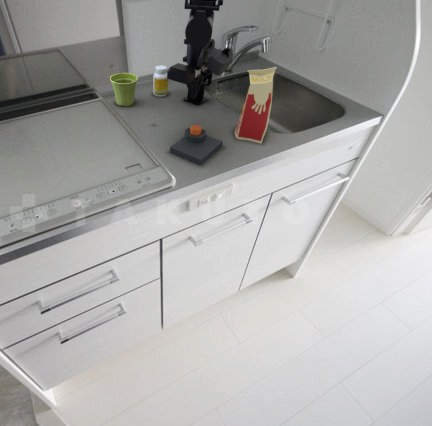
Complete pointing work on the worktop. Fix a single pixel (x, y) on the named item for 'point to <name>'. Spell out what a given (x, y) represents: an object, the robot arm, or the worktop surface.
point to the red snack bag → (256, 106)
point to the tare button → (195, 130)
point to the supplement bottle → (160, 81)
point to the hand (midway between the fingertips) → (193, 97)
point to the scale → (196, 147)
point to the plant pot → (124, 88)
